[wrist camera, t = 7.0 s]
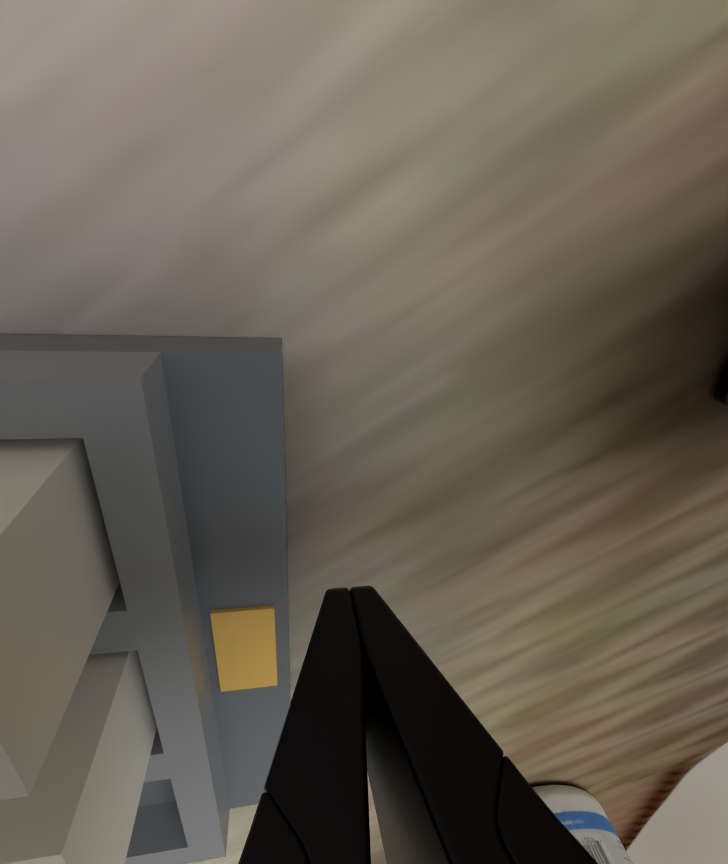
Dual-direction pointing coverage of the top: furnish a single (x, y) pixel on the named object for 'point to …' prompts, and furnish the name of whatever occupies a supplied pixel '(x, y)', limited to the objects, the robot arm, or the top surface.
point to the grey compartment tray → (181, 551)
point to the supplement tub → (585, 822)
